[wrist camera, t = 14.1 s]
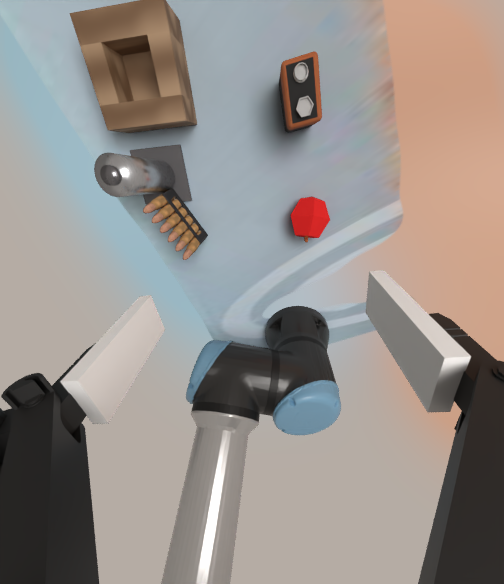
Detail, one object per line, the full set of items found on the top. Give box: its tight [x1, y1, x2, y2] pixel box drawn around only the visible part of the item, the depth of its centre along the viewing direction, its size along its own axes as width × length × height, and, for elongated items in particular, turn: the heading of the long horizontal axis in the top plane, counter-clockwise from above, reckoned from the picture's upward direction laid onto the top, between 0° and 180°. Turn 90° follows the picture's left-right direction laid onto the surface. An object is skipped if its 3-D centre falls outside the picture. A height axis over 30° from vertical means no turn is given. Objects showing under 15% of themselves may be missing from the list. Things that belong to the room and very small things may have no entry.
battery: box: [279, 52, 322, 133], centre depth 33 cm, size 4×7×10 cm, turn 13°
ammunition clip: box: [143, 188, 208, 260], centre depth 42 cm, size 11×2×12 cm, turn 33°
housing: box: [70, 0, 197, 133], centre depth 34 cm, size 12×12×6 cm
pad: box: [130, 145, 192, 204], centre depth 44 cm, size 9×9×1 cm
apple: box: [291, 197, 330, 242], centre depth 43 cm, size 7×7×8 cm
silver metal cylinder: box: [94, 153, 175, 197], centre depth 37 cm, size 5×5×14 cm
